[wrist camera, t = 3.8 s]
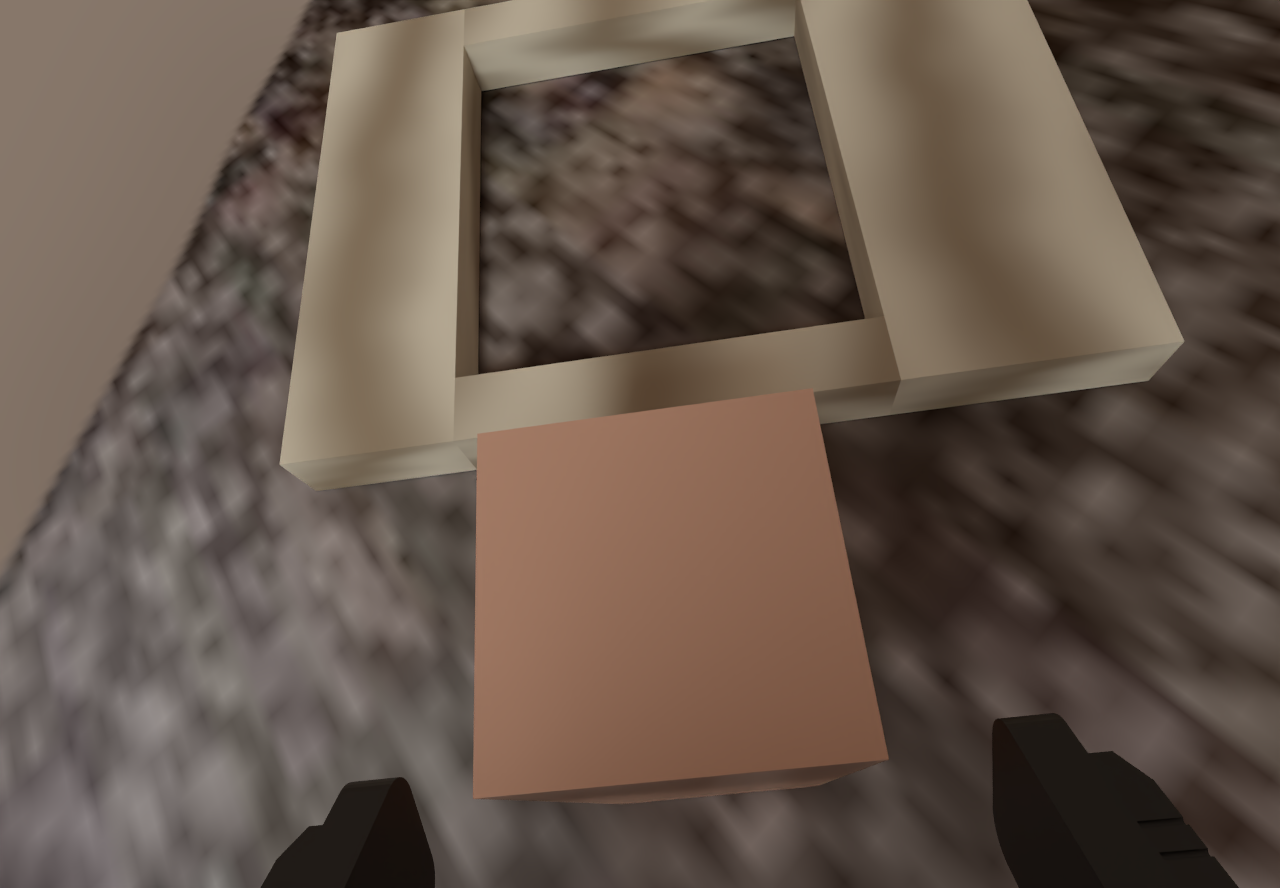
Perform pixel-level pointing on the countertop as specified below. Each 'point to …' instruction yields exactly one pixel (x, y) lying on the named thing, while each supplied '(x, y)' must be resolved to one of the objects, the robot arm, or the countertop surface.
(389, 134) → the beige lopsided picture frame
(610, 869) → the countertop surface
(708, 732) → the tall salmon pink block
